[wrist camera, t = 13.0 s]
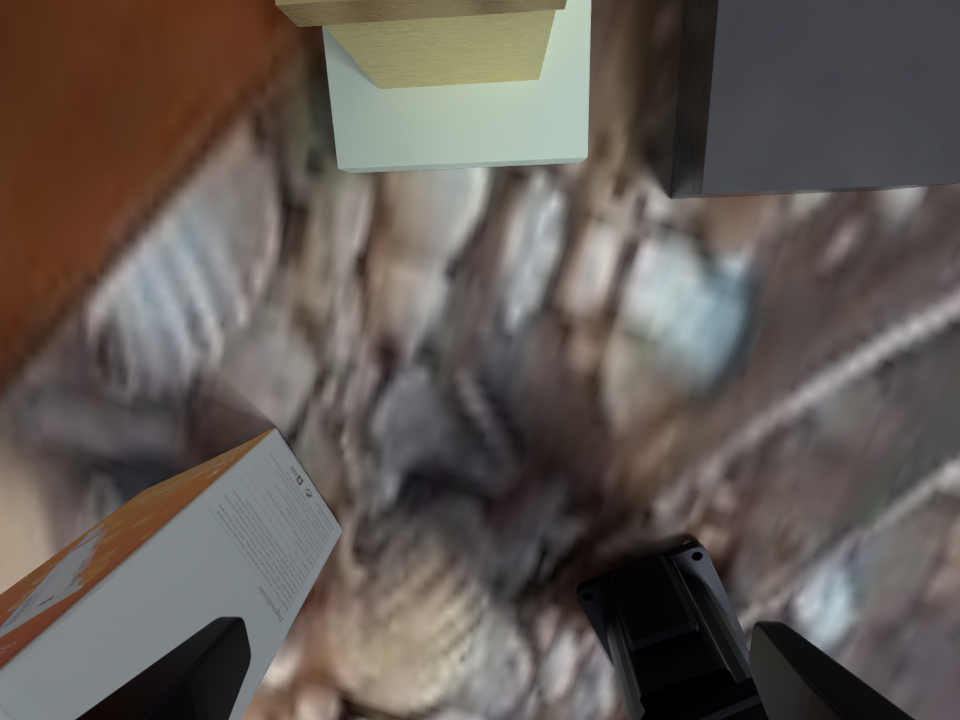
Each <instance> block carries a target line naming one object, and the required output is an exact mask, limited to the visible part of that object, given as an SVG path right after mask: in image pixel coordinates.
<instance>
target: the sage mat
mask: <svg viewBox="0 0 960 720" xmlns="http://www.w3.org/2000/svg"><path fill="white" fill-rule="evenodd" d="M590 28H591V0H567V2H566V6H565V9H563V10H556V12H555V16H554V20H553V25H552V29H551V33H550V37H549V41H548V45H547V49H546V53H545V57H544V61H543V66H542V70H541V74H540V78H539V80H530V81H512V82H495V83H478V84H461V85H444V86H426V87H409V88H392V89H380V88H379V87H378V86H377V85H376V84H375V83H374V82H373V81H372V80H371V78H370V77H369V76H368V75H367V74H366V73H365V72H364V71H363V70H362V68H361V67H360V66H359V65H358V64H357V63H356V62H355V61H354V60H353V58H352V57H351V56H350V55H349V54H348V53H347V52H346V51H345V50H344V48H343V47H342V46H341V45H340V44H339V43H338V42H337V41H336V40H335V38H334V37H333V36H332V35H331V34H330V33H329V32H328V31H327V30H326V28H325V27H324V26H323V25H322V29H323V38H324V47H325V56H326V65H327V74H328V83H329V92H330V101H331V110H332V119H333V128H334V137H335V146H336V154H337V163H338V169H340V170H343V171H346V172H349V173H367V172H389V171H411V170H432V169H454V168H476V167H498V166H520V165H541V164H563V163H581V162H582V161H583V160H585V159H586V158H587V155H588V113H589V70H590Z"/></svg>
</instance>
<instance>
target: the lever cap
mask: <svg viewBox="0 0 960 720" xmlns="http://www.w3.org/2000/svg"><path fill="white" fill-rule="evenodd" d="M566 2H567V0H275V4H276V6H277V7H278V8H279V9H280V10H281V11H282V12H283V13H284V14H285V15H286V16H287V17H288V18H289V19H290V20H291V21H292V22H293V23H294V24H295V25H296V26H297V27H307V26H322V25H323V26H324V27H325V28H326V30H327V31H328V32H329V33H330V34H331V35H332V36H333V37H334V38H335V40H336V41H337V42H338V43H339V44H340V45H341V46H342V47H343V48H344V50H345V51H346V52H347V53H348V54H349V55H350V56H351V57H352V58H353V60H354V61H355V62H356V63H357V64H358V65H359V66H360V67H361V68H362V70H363V71H364V72H365V73H366V74H367V75H368V76H369V77H370V78H371V80H372V81H373V82H374V83H375V84H376V85H377V86H378V87H379V88H380V89H392V88H409V87H426V86H444V85H461V84H478V83H495V82H512V81H530V80H539V78H540V74H541V70H542V66H543V61H544V57H545V53H546V49H547V45H548V41H549V37H550V33H551V29H552V25H553V20H554V16H555V12H556V10H563V9H565V6H566Z"/></svg>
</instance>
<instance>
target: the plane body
mask: <svg viewBox="0 0 960 720" xmlns="http://www.w3.org/2000/svg"><path fill="white" fill-rule="evenodd" d="M955 183H960V0H685V1H684V15H683V29H682V43H681V58H680V72H679V86H678V100H677V115H676V129H675V143H674V158H673V172H672V186H671V199H680V198H704V197H729V196H753V195H777V194H801V193H826V192H850V191H874V190H891V189H902V188H913V187H923V186H934V185H945V184H955Z"/></svg>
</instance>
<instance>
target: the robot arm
mask: <svg viewBox="0 0 960 720" xmlns="http://www.w3.org/2000/svg"><path fill="white" fill-rule="evenodd" d="M695 552H699V553H698V554H696V555H692V554H693V553H695ZM576 591H577V596H578V600H579V602H580V604H581V606H582V608H583V609H584V611H585V613H586V615H587V617H588V618H589V620H590V622H591V624H592V626H593V628H594V629H595V631H596V633H597V635H598V637H599V639H600V640H601V642H602V644H603V646H604V648H605V650H606V651H607V653H608V655H609V657H610V659H611V661H612V662H613V664H614V668H615V672H616V676H617V680H618V684H619V688H620V692H621V696H622V700H623V704H624V708H625V712H626V716H627V719H628V720H915V719H914V718H912V717H911V716H909V715H908V714H907V713H905V712H904V711H903V710H901V709H900V708H899V707H897V706H896V705H895V704H893V703H892V702H890V701H889V700H888V699H886V698H885V697H884V696H882V695H881V694H880V693H878V692H877V691H876V690H874V689H873V688H871V687H870V686H869V685H867V684H866V683H865V682H863V681H862V680H861V679H859V678H858V677H857V676H855V675H854V674H852V673H851V672H850V671H848V670H847V669H846V668H844V667H843V666H842V665H840V664H839V663H838V662H836V661H835V660H833V659H832V658H831V657H829V656H828V655H827V654H825V653H824V652H823V651H821V650H820V649H819V648H817V647H816V646H814V645H813V644H812V643H810V642H809V641H808V640H806V639H805V638H804V637H802V636H801V635H800V634H798V633H797V632H795V631H794V630H793V629H791V628H790V627H789V626H787V625H786V624H784V623H782V622H778V621H759V622H757V623H756V624H755V625H754V628H753V634H752V640H751V647H750V652H749V650H748V648H747V647H746V643H747V640H746V637H745V635H744V632H743V630H742V628H741V626H740V623H739V621H738V619H737V617H736V615H735V612H734V610H733V608H732V606H731V604H730V601H729V599H728V597H727V595H726V592H725V590H724V588H723V586H722V584H721V581H720V579H719V577H718V575H717V572H716V570H715V568H714V566H713V564H712V561H711V559H710V557H709V555H708V553H707V551H706V549H705V548H704V546H703V545H702V544H701V543H699V542H690V543H688V544H685V545H682V546H680V547H677V548H674V549H672V550H669V551H666V552H664V553H661V554H658V555H656V556H653V557H650V558H648V559H645V560H642V561H640V562H637V563H634V564H632V565H629V566H626V567H624V568H621V569H618V570H616V571H613V572H610V573H608V574H605V575H602V576H600V577H597V578H594V579H592V580H589V581H586V582H584V583H582V584H580V585H579V586H578V587H577V590H576ZM588 592H589V593H590V594H589V595H585V593H588ZM250 661H251V648H250V643H249V639H248V634H247V629H246V625H245V621H244V620H243V618H242V617H238V616H222V617H218V618H216V619H215V620H213V621H212V622H210V623H209V624H208V625H206V626H205V627H203V628H202V629H201V630H199V631H198V632H197V633H195V634H194V635H192V636H191V637H190V638H188V639H187V640H185V641H184V642H183V643H181V644H180V645H178V646H177V647H176V648H174V649H173V650H171V651H170V652H169V653H167V654H166V655H164V656H163V657H162V658H160V659H159V660H157V661H156V662H155V663H153V664H152V665H150V666H149V667H148V668H146V669H145V670H144V671H142V672H141V673H139V674H138V675H137V676H135V677H134V678H132V679H131V680H130V681H128V682H127V683H125V684H124V685H123V686H121V687H120V688H118V689H117V690H116V691H114V692H113V693H111V694H110V695H109V696H107V697H106V698H104V699H103V700H102V701H100V702H99V703H97V704H96V705H95V706H93V707H92V708H91V709H89V710H88V711H86V712H85V713H84V714H82V715H81V716H79V717H78V718H77V719H75V720H229V718H230V715H231V713H232V710H233V707H234V705H235V702H236V700H237V697H238V694H239V692H240V689H241V687H242V684H243V682H244V679H245V676H246V674H247V671H248V669H249V666H250Z"/></svg>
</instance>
